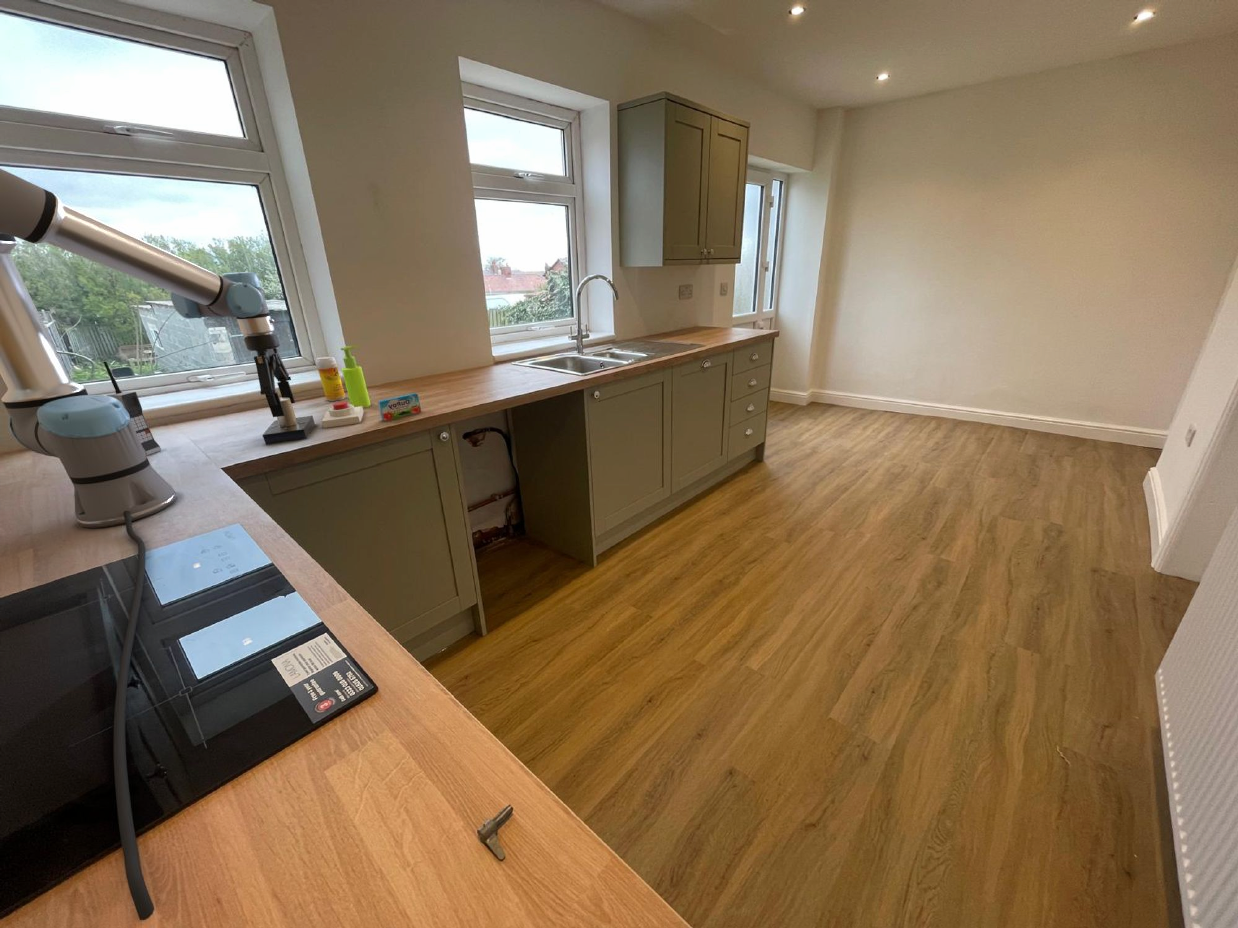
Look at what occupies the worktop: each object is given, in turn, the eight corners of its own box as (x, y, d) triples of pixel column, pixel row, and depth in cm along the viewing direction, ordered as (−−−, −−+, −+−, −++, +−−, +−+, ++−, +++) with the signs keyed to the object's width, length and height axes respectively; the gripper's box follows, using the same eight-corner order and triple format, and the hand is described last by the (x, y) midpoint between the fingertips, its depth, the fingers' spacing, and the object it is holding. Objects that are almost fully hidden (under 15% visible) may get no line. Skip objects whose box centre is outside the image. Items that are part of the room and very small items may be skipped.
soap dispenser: (377, 404, 172) (362, 345, 164) (358, 409, 166) (342, 349, 159) (367, 402, 175) (352, 344, 167) (348, 407, 169) (332, 348, 162)
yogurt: (384, 421, 153) (379, 402, 151) (382, 420, 154) (377, 401, 151) (421, 412, 161) (417, 393, 158) (419, 411, 162) (415, 392, 159)
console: (306, 439, 141) (303, 428, 140) (265, 445, 138) (262, 434, 137) (315, 424, 153) (312, 415, 152) (277, 430, 150) (274, 420, 149)
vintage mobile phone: (147, 455, 134) (105, 363, 124) (133, 455, 135) (90, 363, 125) (162, 450, 138) (122, 359, 128) (147, 449, 139) (107, 359, 129)
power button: (347, 409, 154) (346, 404, 153) (333, 411, 153) (331, 406, 152) (349, 406, 157) (347, 401, 157) (335, 408, 156) (333, 402, 155)
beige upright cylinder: (298, 421, 147) (290, 395, 144) (295, 425, 143) (287, 399, 140) (281, 423, 146) (273, 397, 142) (278, 428, 142) (269, 401, 139)
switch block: (360, 423, 153) (356, 410, 151) (323, 428, 150) (319, 415, 148) (363, 412, 163) (360, 400, 162) (329, 417, 160) (326, 405, 158)
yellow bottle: (340, 401, 178) (328, 359, 172) (323, 402, 178) (311, 359, 172) (348, 396, 183) (337, 355, 177) (332, 397, 183) (321, 356, 177)
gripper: (263, 339, 125) (290, 420, 133) (285, 326, 146) (307, 396, 155) (228, 342, 122) (257, 424, 131) (255, 329, 144) (279, 400, 152)
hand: (284, 409), depth 143 cm, fingers open, 13 cm apart
